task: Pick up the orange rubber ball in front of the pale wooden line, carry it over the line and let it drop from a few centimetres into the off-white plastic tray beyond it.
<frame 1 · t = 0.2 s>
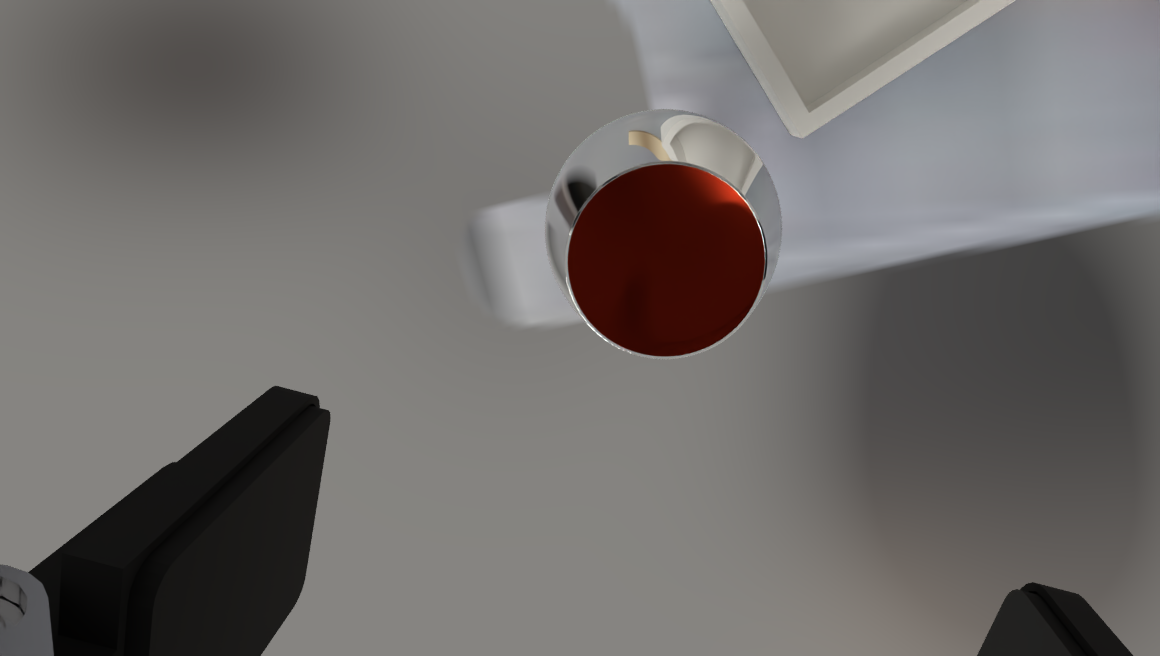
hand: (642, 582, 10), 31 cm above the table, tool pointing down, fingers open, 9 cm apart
wineglass: (656, 187, 39), on the table
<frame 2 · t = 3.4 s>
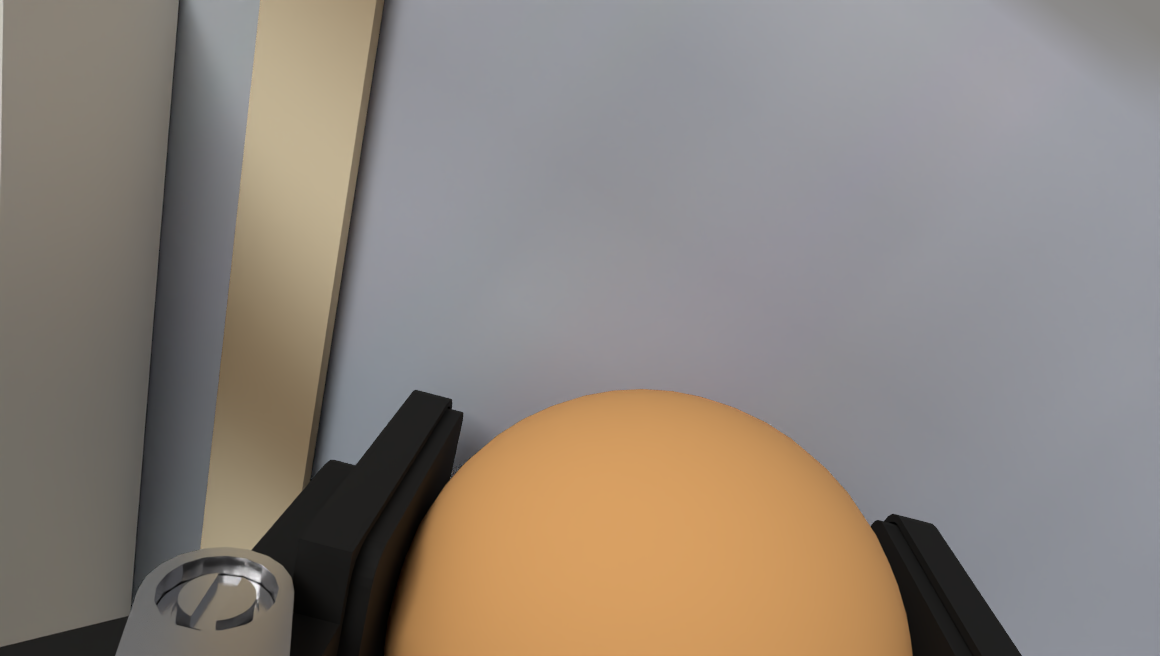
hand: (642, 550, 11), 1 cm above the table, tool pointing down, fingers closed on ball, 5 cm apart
ball: (642, 511, 12), on the table, touching gripper
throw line: (271, 417, 12), on the table
when the fingers open (6 cm above the table, at t = 8.1 s): ball drops 4 cm, resting on tray.
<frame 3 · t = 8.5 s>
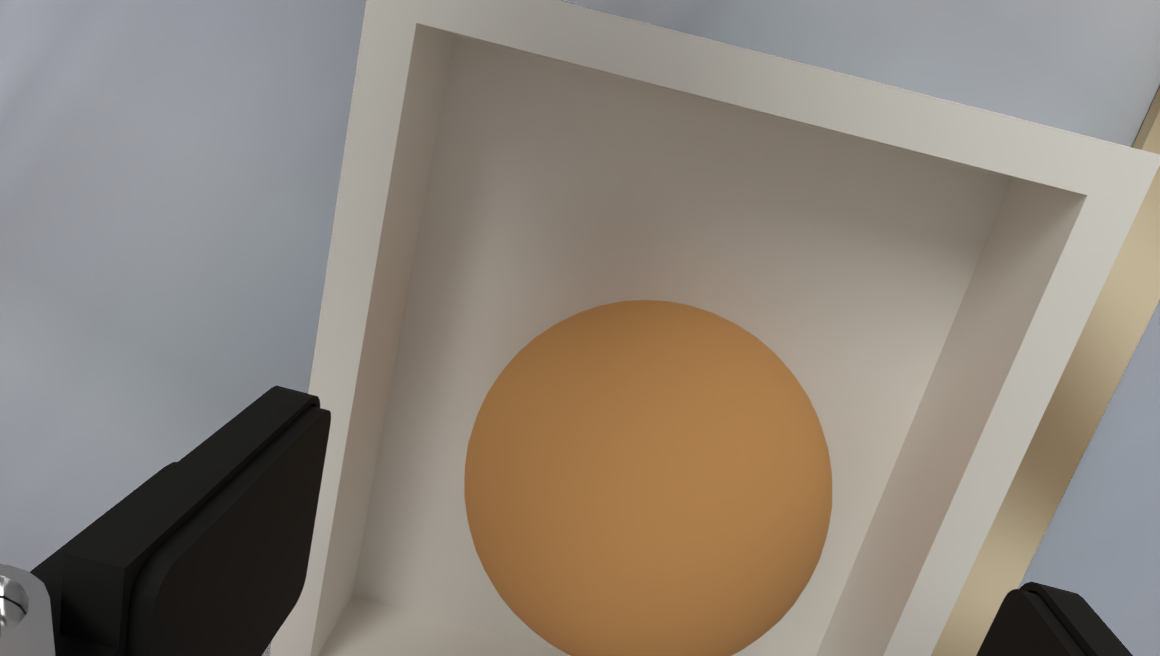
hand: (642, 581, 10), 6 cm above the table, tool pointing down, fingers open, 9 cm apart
ball: (644, 409, 16), resting on tray
tray: (643, 402, 16), on the table
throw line: (1031, 456, 16), on the table
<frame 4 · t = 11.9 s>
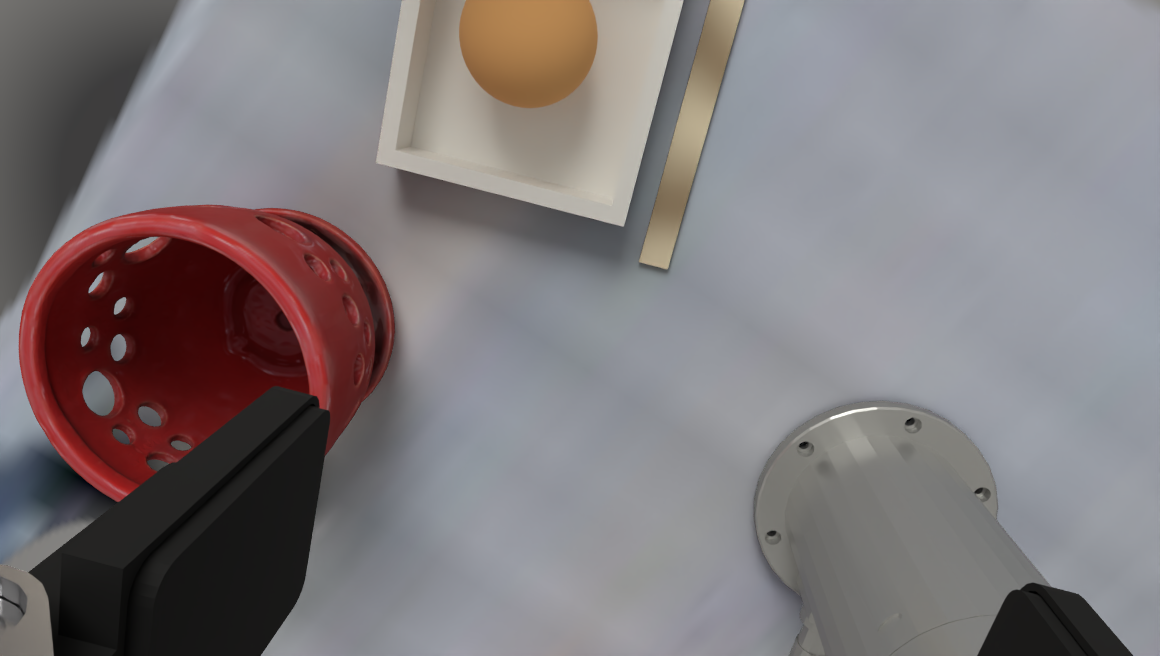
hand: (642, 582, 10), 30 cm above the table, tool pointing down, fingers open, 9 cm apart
ball: (540, 42, 37), point 1 cm above the table, touching tray
tray: (541, 44, 37), on the table
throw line: (709, 64, 37), on the table
plant pot: (298, 302, 42), on the table
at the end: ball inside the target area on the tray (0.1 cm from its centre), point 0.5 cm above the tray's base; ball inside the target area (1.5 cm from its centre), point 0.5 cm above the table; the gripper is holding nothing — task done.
